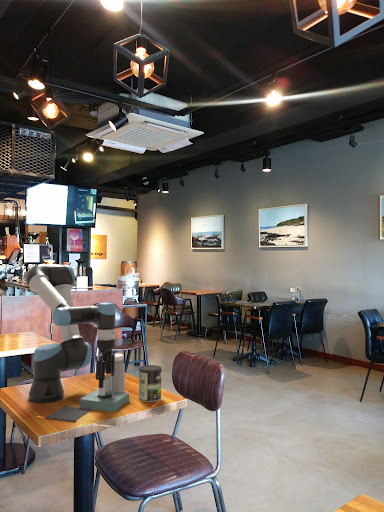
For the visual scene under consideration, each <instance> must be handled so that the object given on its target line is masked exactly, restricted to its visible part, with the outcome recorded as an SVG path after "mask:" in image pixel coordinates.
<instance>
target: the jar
mask: <svg viewBox="0 0 384 512" xmlns="http://www.w3.org/2000/svg"><path fill="white" fill-rule="evenodd" d="M124 357H125V356H124V354H122V353H121V352H120V353H119V352H115V372H114V373H113V374H114V376H112V390H111V391H115V392H124V393H125V390H126V388H125V382H126V381H125V379H126V373H125V371H126V364H125V363H124V361H125V360H124ZM105 372H106V370H105Z"/></svg>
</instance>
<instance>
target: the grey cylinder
mask: <svg viewBox="0 0 384 512" xmlns="http://www.w3.org/2000/svg"><path fill="white" fill-rule="evenodd" d="M104 380H105V396H102V395H99V398H103V399H105V398H111V373H110V372H105V377H104Z"/></svg>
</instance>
